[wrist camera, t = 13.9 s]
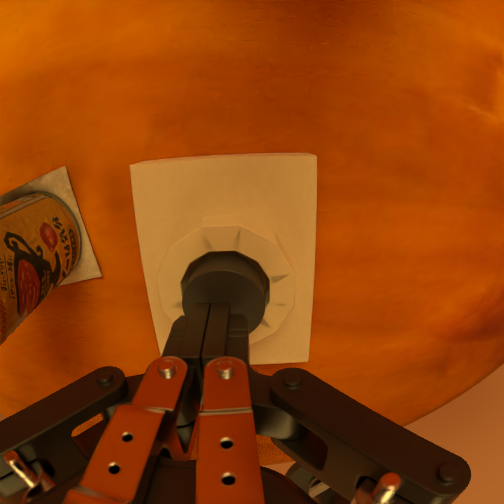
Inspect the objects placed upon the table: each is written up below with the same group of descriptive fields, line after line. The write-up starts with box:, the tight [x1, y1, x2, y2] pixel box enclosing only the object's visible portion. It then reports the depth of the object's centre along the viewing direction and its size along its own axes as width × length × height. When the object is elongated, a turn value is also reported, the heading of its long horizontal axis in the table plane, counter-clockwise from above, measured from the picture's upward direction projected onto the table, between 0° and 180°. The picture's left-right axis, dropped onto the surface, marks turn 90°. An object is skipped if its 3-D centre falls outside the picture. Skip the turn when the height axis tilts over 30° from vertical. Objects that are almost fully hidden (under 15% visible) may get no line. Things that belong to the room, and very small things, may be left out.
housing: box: [130, 153, 317, 365], centre depth 17 cm, size 12×9×4 cm
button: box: [182, 254, 265, 334], centre depth 15 cm, size 4×4×2 cm
